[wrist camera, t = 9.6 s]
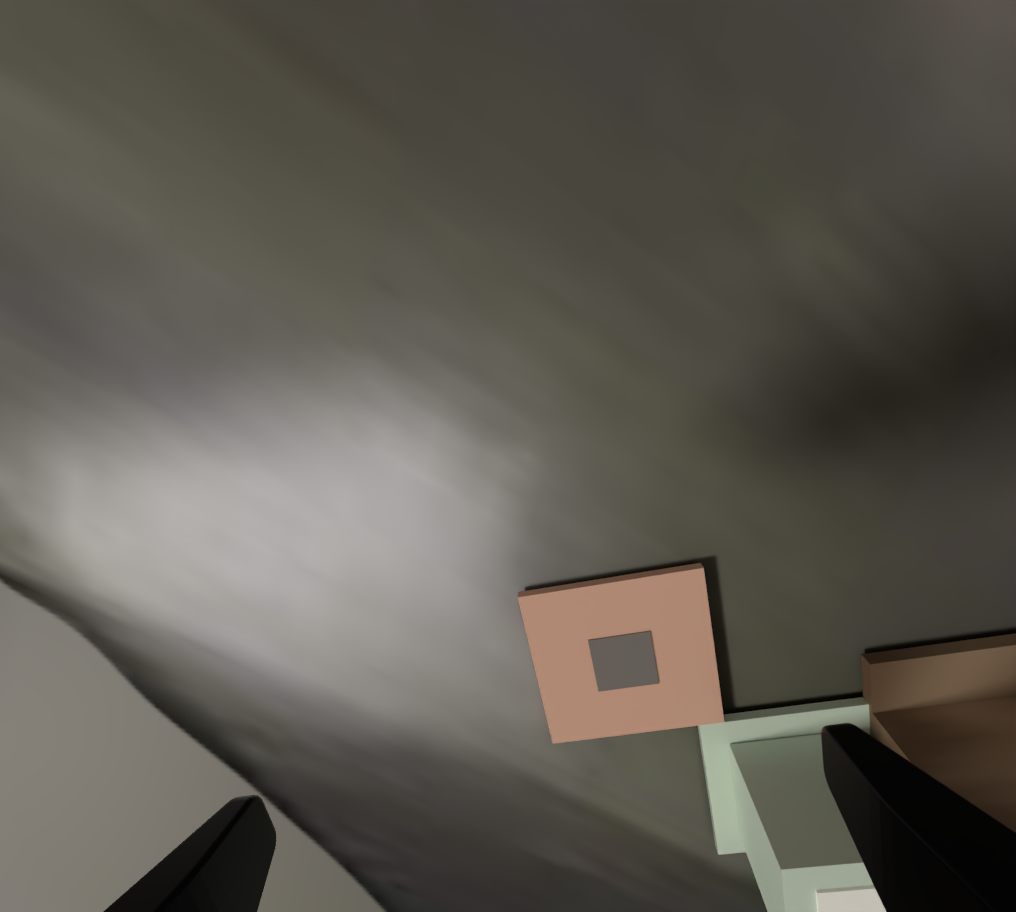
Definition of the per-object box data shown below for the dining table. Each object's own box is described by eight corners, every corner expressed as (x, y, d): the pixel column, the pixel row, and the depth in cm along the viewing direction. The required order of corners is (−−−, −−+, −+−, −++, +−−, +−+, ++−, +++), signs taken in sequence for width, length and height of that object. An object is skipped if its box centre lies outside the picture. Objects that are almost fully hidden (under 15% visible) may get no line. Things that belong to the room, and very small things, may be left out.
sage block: (859, 729, 21) (952, 858, 16) (863, 827, 23) (950, 973, 18) (729, 744, 22) (782, 872, 17) (741, 839, 23) (793, 983, 18)
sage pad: (876, 695, 21) (883, 703, 21) (882, 829, 23) (888, 839, 23) (696, 718, 22) (699, 726, 22) (715, 845, 24) (718, 856, 24)
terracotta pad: (700, 562, 20) (704, 568, 20) (721, 715, 22) (724, 723, 22) (517, 591, 21) (517, 598, 21) (552, 736, 23) (552, 744, 22)
